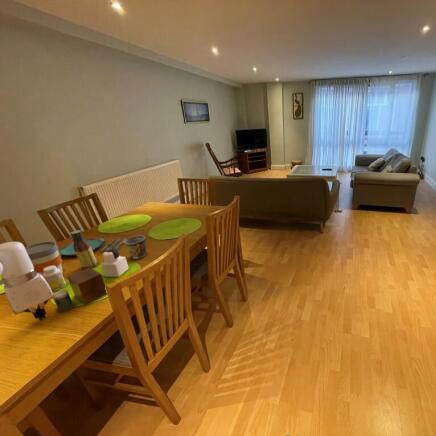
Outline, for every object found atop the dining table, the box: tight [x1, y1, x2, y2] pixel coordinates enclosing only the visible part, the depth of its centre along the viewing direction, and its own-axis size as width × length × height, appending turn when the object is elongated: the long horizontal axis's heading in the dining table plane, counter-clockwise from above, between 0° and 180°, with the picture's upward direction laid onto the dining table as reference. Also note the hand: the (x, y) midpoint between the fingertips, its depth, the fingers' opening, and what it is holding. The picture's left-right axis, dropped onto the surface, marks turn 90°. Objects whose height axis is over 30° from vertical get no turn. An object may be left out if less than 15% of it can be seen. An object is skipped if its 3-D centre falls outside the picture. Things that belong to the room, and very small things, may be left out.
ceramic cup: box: [123, 235, 147, 260], centre depth 129 cm, size 13×10×10 cm
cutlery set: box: [58, 237, 127, 258], centre depth 139 cm, size 20×30×2 cm, turn 101°
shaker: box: [52, 289, 74, 312], centre depth 94 cm, size 8×4×8 cm
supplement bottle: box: [43, 266, 67, 292], centre depth 105 cm, size 6×6×10 cm
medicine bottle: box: [100, 248, 130, 278], centre depth 115 cm, size 7×7×12 cm
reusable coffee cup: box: [25, 241, 64, 276], centre depth 113 cm, size 13×13×15 cm
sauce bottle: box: [70, 229, 98, 270], centre depth 118 cm, size 6×6×20 cm
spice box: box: [66, 267, 108, 305], centre depth 100 cm, size 8×10×10 cm
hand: (41, 317), depth 89 cm, fingers closed
